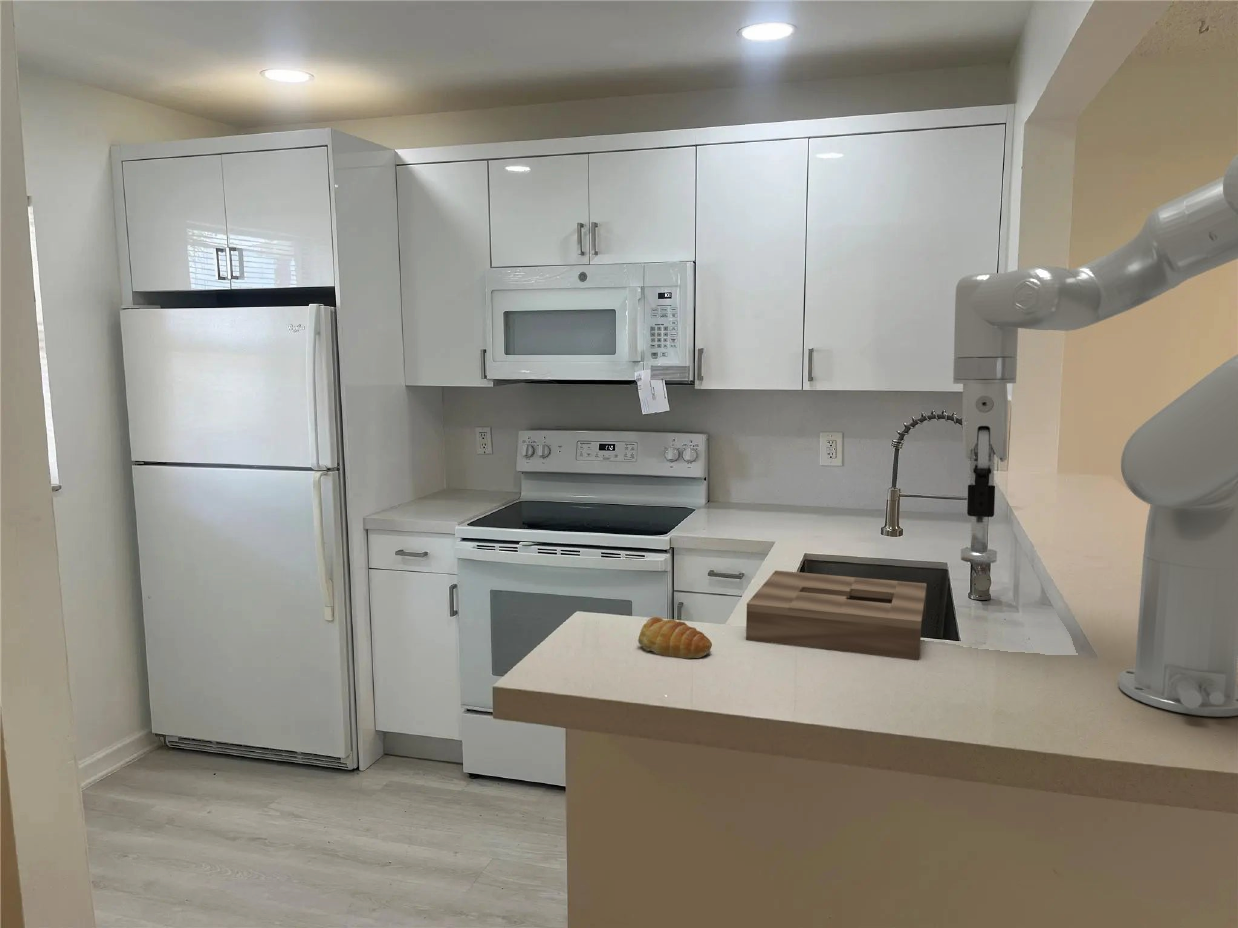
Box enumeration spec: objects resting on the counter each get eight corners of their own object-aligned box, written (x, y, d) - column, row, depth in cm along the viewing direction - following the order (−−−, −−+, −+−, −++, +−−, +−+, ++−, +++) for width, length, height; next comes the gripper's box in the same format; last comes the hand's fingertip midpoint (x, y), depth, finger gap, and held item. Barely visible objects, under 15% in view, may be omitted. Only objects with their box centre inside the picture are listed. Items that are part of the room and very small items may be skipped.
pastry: (721, 651, 115) (722, 622, 115) (694, 666, 110) (694, 636, 109) (661, 638, 121) (661, 610, 120) (632, 651, 115) (632, 622, 115)
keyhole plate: (919, 659, 111) (921, 621, 111) (745, 639, 119) (746, 603, 119) (925, 616, 130) (926, 583, 129) (774, 601, 138) (775, 570, 137)
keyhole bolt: (997, 564, 114) (1000, 475, 113) (960, 562, 116) (962, 474, 114) (996, 557, 118) (998, 471, 117) (960, 555, 120) (962, 470, 118)
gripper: (1020, 372, 105) (1015, 525, 107) (1012, 371, 121) (1008, 506, 122) (952, 372, 108) (948, 522, 110) (953, 372, 123) (950, 503, 125)
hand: (980, 512), depth 116 cm, fingers closed on keyhole bolt, 3 cm apart
